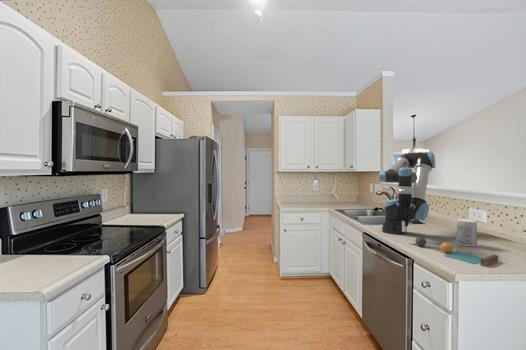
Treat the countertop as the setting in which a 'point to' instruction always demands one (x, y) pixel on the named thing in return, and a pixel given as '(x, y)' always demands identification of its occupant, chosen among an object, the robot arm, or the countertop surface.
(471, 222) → the supplement tub
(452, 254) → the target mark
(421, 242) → the gray ball
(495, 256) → the wall
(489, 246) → the countertop surface
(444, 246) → the object ball
